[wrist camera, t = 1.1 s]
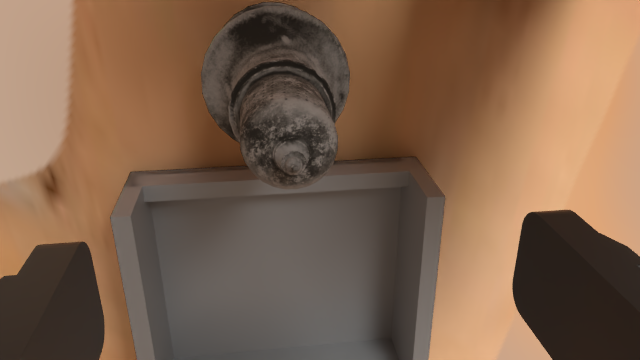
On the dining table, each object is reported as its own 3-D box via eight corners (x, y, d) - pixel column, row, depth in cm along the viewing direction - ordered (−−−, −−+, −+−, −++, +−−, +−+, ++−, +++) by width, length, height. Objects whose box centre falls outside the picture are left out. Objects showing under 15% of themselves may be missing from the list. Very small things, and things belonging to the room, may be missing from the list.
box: (130, 171, 26) (110, 217, 22) (415, 156, 28) (445, 196, 24) (162, 363, 31) (150, 429, 27) (401, 341, 33) (424, 400, 29)
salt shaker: (284, 147, 27) (313, 298, 16) (180, 75, 25) (131, 193, 14) (362, 50, 25) (451, 145, 14) (258, -35, 23) (271, 2, 12)
